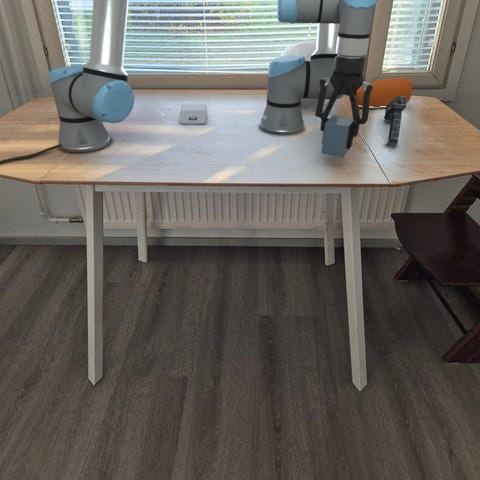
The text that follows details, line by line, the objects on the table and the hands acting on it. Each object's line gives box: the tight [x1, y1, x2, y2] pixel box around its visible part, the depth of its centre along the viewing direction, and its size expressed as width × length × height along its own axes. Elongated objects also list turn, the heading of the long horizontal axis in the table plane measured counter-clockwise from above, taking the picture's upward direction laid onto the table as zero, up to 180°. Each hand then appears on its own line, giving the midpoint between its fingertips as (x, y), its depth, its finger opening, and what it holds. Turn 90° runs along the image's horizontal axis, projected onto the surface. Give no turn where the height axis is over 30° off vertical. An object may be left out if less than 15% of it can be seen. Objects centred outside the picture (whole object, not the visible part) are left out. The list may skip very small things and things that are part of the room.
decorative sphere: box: [278, 40, 318, 109], centre depth 160 cm, size 24×25×25 cm
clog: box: [357, 77, 413, 110], centre depth 164 cm, size 12×11×25 cm
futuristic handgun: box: [383, 96, 408, 147], centre depth 138 cm, size 4×29×15 cm, turn 164°
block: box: [320, 114, 354, 159], centre depth 112 cm, size 6×8×9 cm
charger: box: [179, 102, 208, 125], centre depth 151 cm, size 5×9×15 cm
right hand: (336, 144), depth 114 cm, fingers closed on block, 6 cm apart
